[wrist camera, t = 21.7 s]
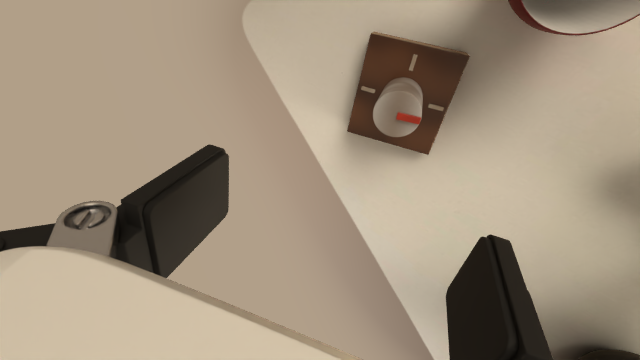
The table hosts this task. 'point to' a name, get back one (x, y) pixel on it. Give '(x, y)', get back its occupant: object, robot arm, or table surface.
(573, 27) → the mug
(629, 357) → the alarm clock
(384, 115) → the tap knob
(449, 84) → the panel
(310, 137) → the table surface
